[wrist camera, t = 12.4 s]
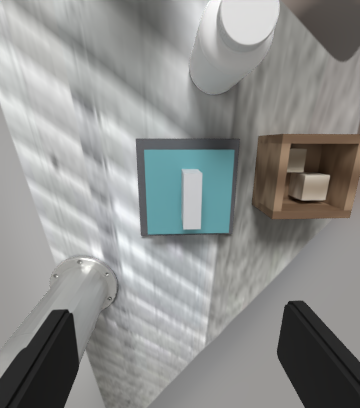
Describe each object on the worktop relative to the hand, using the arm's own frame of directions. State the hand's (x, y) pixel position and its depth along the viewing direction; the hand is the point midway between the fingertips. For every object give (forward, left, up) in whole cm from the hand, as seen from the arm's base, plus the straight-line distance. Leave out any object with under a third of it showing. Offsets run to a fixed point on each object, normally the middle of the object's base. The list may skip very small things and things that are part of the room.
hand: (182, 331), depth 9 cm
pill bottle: (+19, -7, -30) cm, 36 cm away
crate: (+3, -21, -29) cm, 36 cm away
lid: (0, -3, -29) cm, 29 cm away
